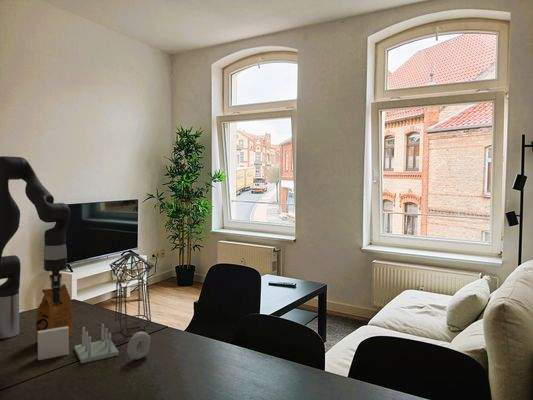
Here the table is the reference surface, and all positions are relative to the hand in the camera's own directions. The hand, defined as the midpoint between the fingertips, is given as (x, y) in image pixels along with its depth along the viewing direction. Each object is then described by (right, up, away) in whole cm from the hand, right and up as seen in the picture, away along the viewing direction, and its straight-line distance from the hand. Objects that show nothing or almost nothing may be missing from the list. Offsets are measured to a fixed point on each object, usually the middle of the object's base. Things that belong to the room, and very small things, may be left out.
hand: (56, 300), depth 150 cm
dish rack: (+13, -21, +4) cm, 25 cm away
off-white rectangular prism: (-1, -21, 0) cm, 21 cm away
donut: (+31, -22, -1) cm, 38 cm away
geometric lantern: (+20, -20, +25) cm, 38 cm away
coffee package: (-9, -20, +15) cm, 27 cm away
